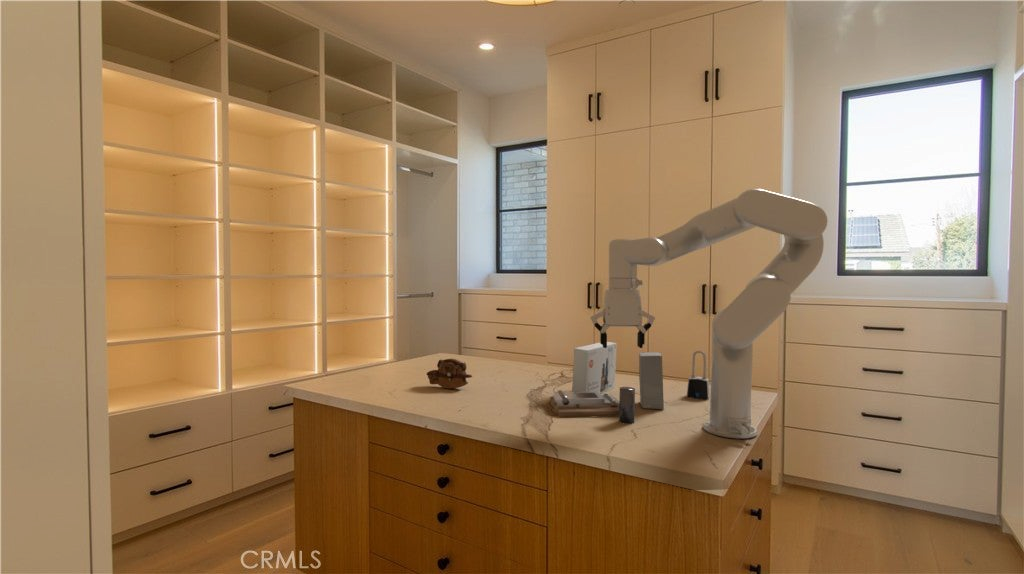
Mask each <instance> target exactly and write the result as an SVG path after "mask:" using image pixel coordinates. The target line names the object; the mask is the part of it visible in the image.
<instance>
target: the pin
mask: <svg viewBox="0 0 1024 574" xmlns="http://www.w3.org/2000/svg"><path fill="white" fill-rule="evenodd" d="M618 398H619V400H618V401H619V416H618V422H619V423H620V422H621V424H623V423H624V425H632V423H633V424H634V423H635V407H636V405H635V403H636V402H635V400H636V389H635V387H631V386H620V387H619V397H618Z"/></svg>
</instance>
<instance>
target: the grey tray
mask: <svg viewBox="0 0 1024 574" xmlns="http://www.w3.org/2000/svg"><path fill="white" fill-rule="evenodd" d="M553 397H554V401H555V403H556V405H557V406H558V408H580V407H619V400H618V399H617V397H616V396H614V395H612V394H611V395H610V394H608V393H603V394H602V395H601V394H599V393H598V392H572V391H563V390H560V389H559V390H558V391H553Z"/></svg>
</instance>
